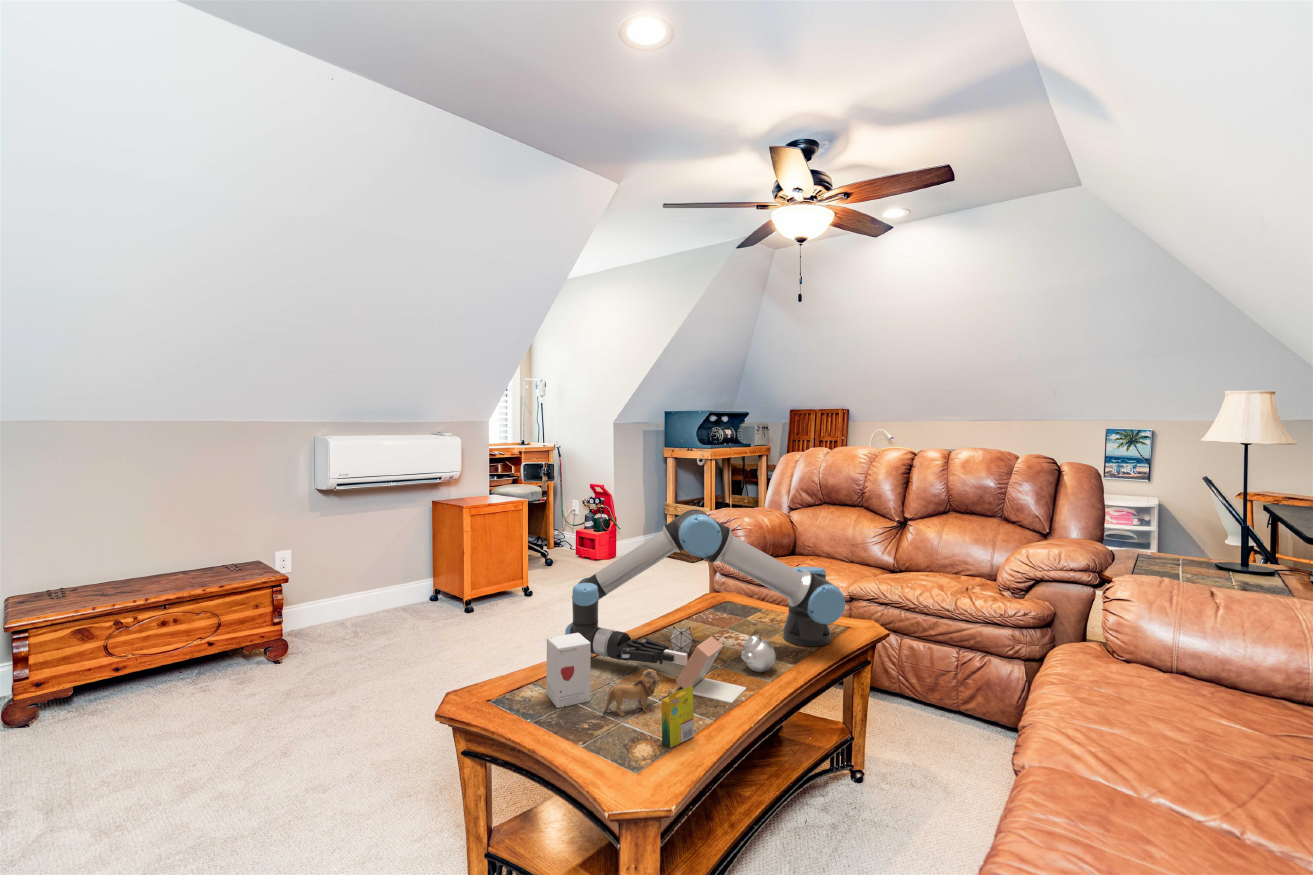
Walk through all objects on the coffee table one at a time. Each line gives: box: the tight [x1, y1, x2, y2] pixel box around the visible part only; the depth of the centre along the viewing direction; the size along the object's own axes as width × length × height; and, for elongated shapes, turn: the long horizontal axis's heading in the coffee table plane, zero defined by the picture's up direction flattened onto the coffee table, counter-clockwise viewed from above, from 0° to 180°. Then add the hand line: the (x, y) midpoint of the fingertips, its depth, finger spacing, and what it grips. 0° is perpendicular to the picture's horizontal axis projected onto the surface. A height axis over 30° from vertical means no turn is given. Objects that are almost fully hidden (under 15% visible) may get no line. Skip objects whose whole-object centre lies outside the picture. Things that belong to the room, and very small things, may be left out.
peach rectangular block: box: [675, 635, 724, 689], centre depth 164 cm, size 4×9×12 cm, turn 150°
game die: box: [667, 625, 697, 657], centre depth 187 cm, size 9×8×10 cm
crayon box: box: [660, 685, 695, 749], centre depth 136 cm, size 7×3×12 cm, turn 131°
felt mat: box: [693, 677, 747, 704], centre depth 161 cm, size 12×10×1 cm
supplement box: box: [545, 633, 592, 709], centre depth 157 cm, size 9×9×15 cm
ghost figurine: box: [740, 634, 776, 673], centre depth 174 cm, size 9×10×10 cm
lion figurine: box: [601, 668, 659, 717], centre depth 150 cm, size 15×5×9 cm, turn 118°
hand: (686, 659), depth 166 cm, fingers closed
